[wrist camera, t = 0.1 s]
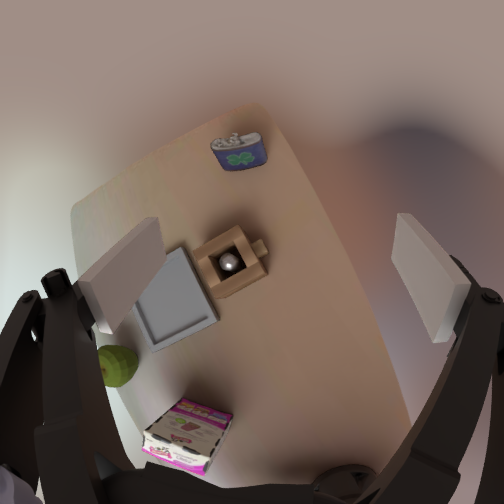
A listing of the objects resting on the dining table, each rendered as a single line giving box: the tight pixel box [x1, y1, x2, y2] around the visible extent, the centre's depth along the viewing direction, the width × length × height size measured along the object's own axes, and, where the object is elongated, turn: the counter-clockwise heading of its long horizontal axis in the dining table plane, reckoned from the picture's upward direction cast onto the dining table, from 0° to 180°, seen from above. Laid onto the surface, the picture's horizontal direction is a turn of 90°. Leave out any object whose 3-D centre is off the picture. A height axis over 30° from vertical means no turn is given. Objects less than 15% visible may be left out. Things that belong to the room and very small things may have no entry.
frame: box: [193, 225, 269, 299], centre depth 48 cm, size 9×11×6 cm
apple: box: [97, 345, 138, 387], centre depth 47 cm, size 9×8×12 cm
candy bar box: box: [142, 398, 233, 476], centre depth 40 cm, size 11×5×16 cm, turn 76°
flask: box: [210, 132, 267, 171], centre depth 49 cm, size 9×3×11 cm, turn 96°
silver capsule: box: [219, 253, 243, 272], centre depth 49 cm, size 3×3×6 cm
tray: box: [132, 247, 220, 353], centre depth 52 cm, size 15×15×2 cm
